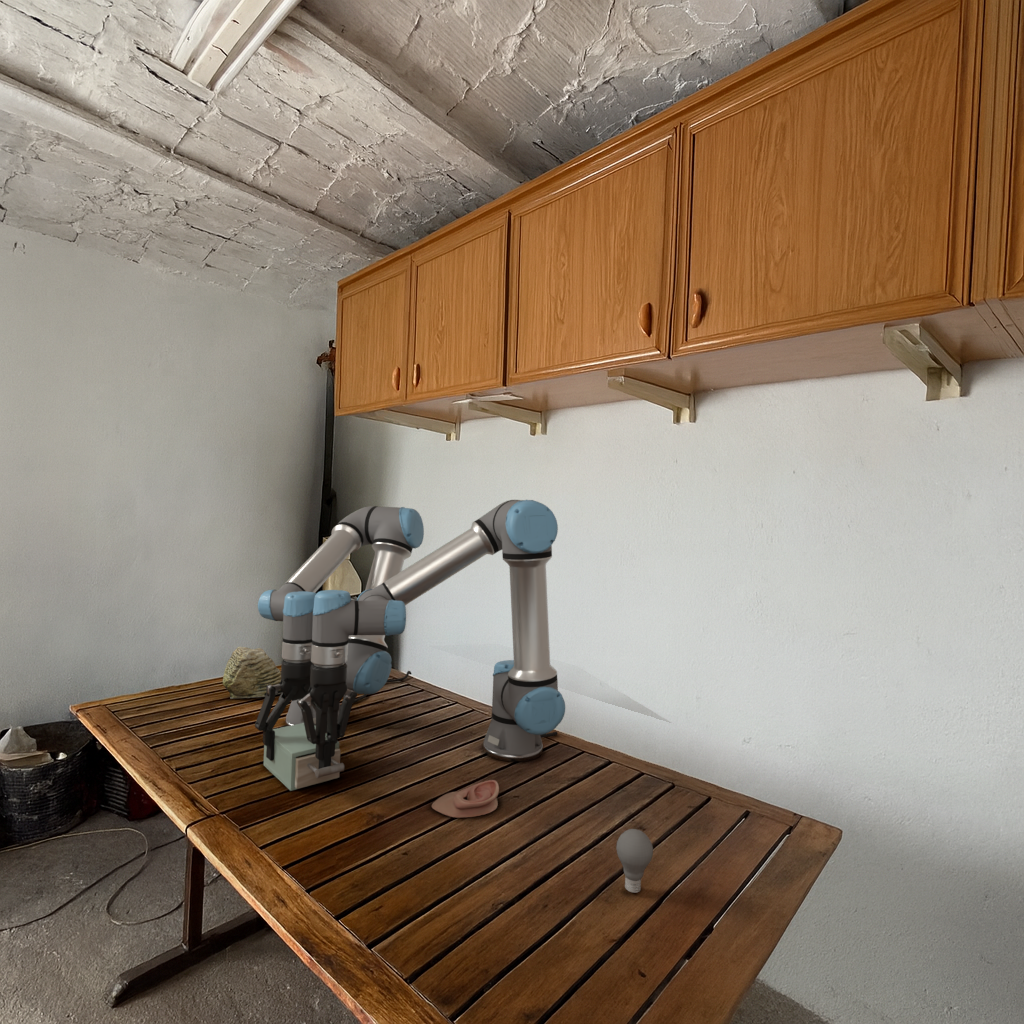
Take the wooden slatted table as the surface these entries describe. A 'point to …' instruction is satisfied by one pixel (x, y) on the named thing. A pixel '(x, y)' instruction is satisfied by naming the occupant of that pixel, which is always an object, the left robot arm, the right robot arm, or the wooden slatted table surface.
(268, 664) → the fossil
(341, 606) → the right robot arm
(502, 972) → the wooden slatted table surface
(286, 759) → the cabinet
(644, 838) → the light bulb
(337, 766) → the drawer
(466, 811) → the anatomical model
